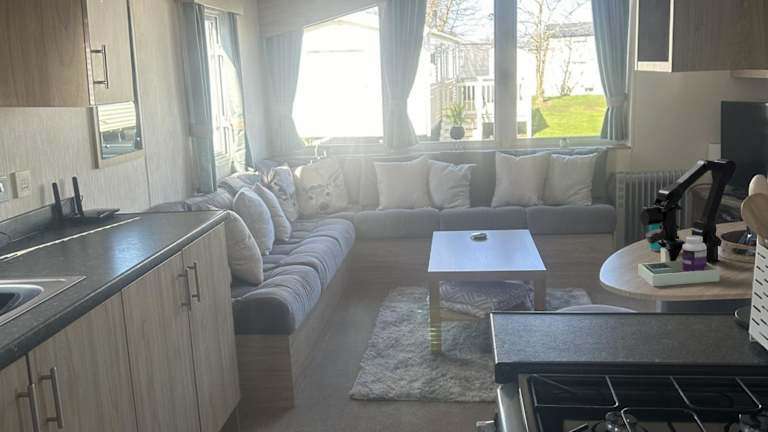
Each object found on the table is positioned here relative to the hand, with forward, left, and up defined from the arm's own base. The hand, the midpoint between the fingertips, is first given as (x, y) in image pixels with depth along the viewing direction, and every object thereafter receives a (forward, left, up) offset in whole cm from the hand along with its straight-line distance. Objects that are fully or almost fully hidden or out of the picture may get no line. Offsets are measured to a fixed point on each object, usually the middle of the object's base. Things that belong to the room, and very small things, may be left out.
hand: (669, 262), depth 285 cm
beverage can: (-4, -26, -2) cm, 26 cm away
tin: (+9, +15, -2) cm, 18 cm away
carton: (0, 0, -2) cm, 2 cm away
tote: (+3, +15, -2) cm, 15 cm away
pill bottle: (-3, +15, -2) cm, 15 cm away
